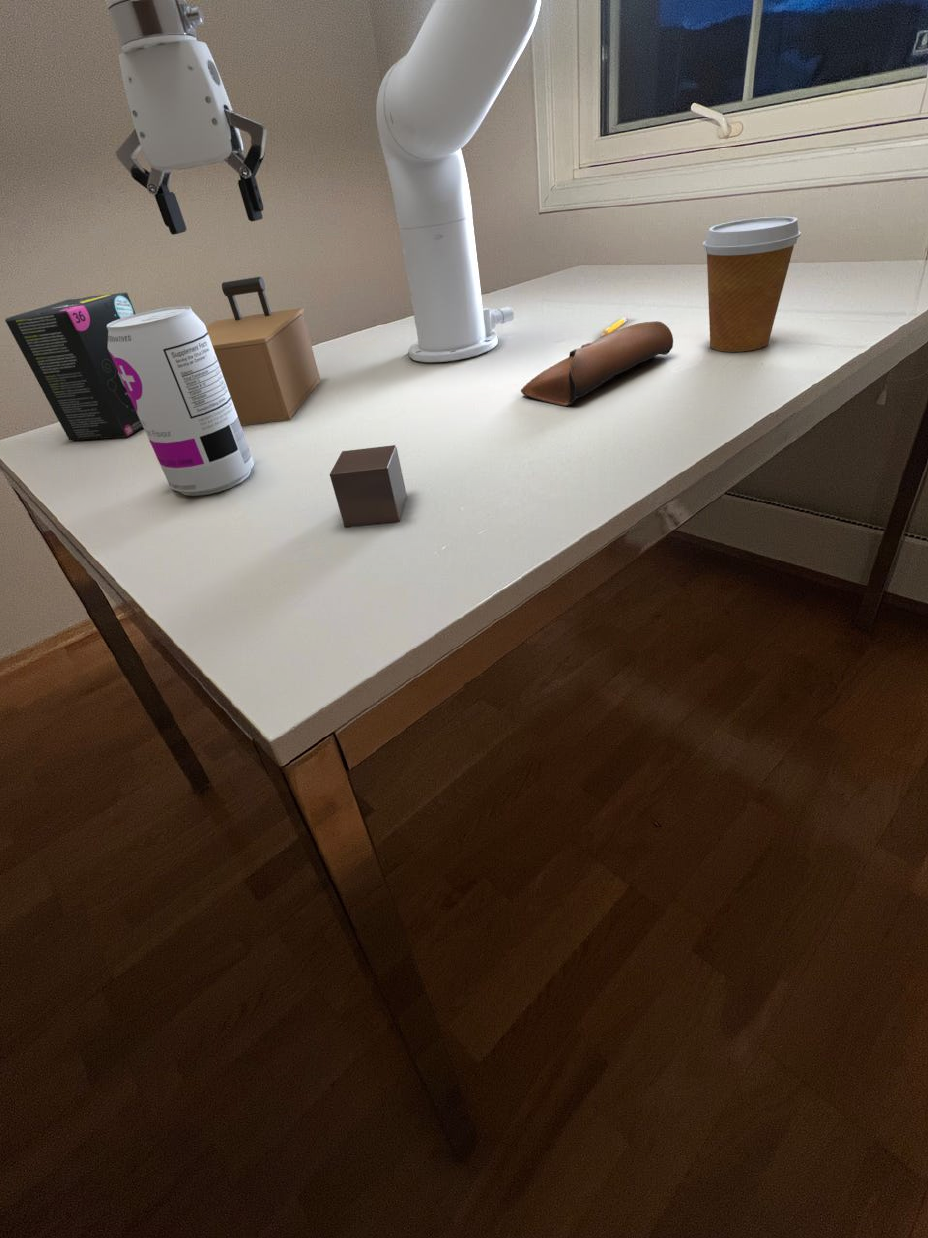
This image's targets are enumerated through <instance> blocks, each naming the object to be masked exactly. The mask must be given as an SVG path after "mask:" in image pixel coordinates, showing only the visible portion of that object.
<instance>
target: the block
mask: <svg viewBox="0 0 928 1238" xmlns="http://www.w3.org/2000/svg"><path fill="white" fill-rule="evenodd" d="M329 477H330V481H331V484H332V488H333V492H334V495H335V498H336V503H337V505H338V508H339V513H340V516H341V519H342V523H343V527H346V528H347V527H357V526H366V525H367V526H368V525H376V524H385V523H397V522H400V520H401V517H402V515H403V511H404V508H405V507H404V506H405V503H406V500H407V497H408V494H407V490H406V484H405V481H404V475H403V470H402V466H401V462H400V456H399V451H398V447H397V445H396V444H394V445H393V444H391V445H384V446H376V447H375V446H374V447H367V448H358V449H350V450H349V449H348V450H342V451H341V453H340V455H339V456H338V458H337V460H336V461H335V464H334V465H333V467H332V469H331V471H330V472H329Z"/></svg>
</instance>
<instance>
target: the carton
mask: <svg viewBox="0 0 928 1238" xmlns="http://www.w3.org/2000/svg"><path fill="white" fill-rule="evenodd" d="M214 352H215V354H216V357H217V360H218V363H219V366H220V368H221V371H222V374H223V377H224V380H225V382H226V385H227V388H228V391H229V394H230V396H231V399H232V402H233V405H234V408H235V410H236V413H237V416H238V419H239V422H240V424H241V427H242V426H250V425H258V424H265V423H266V424H267V423H274V422H275V423H276V422H282V421H290V420H291V419H292V418H293V416H294V415H295V414H296V413H297V411H298V410H299V409H300V408H301V407H302V405H303V404H304V402H306V400H307V399H308V398H309V396H310V395H311V394H312V393H313V392H314V390H315V389H316V388H317V387H318V385H319V384H320V383H321V381H322V380H321V376H320V372H319V368H318V364H317V362H316V356H315V353H314V350H313V347H312V343H311V339H310V335H309V332H308V328H307V324H306V320H305V316H304V314H303V313H302V314H300V315H299V316H298V317H297V318H296V319H294V320H293V321H292V322H291V323H289V324H288V325H287V326H286V327H285V328H283V329H282V330H281V331H280V332H278V333H277V334H276V335H275V336H274V337H272V338H271V339H270V340H269V341H267V342H266V343H261V344H253V345H246V346H239V347H232V348H225V349H218V350H214Z"/></svg>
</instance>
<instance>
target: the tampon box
mask: <svg viewBox="0 0 928 1238" xmlns="http://www.w3.org/2000/svg"><path fill="white" fill-rule="evenodd" d="M135 314H137V313H136V312H135V309H134V306H133V304H132V301H131V299H130V297H129V294H128V292H117V293H112V294H101V295H91V296H87V297H81V298H80V297H79V298H70V299H64V300H62V301H59V302H56V303H53V304H49V305H46V306H42V307H40V308H36V309H32V310H30V311H26V312H22V313H19V314H16V315H12V316H9V317H6V318H5V319H4V321H5V324H6V325H7V327H8V329H9V331H10V333H11V335H12V337H13V338H14V339H15V342H16V344H17V345H18V348H19V350H20V351H21V353H22V355H23V357H24V358H25V360H26V363H27V365H28V366H29V368H30V370H31V371H32V373H33V375H34V377H35V379H36V381H37V382H38V385H39V386H40V388H41V390H42V392H43V394H44V397H45V398H46V400H47V402H48V404H49V406H50V407H51V409H52V411H53V414H54V415H55V417H56V419H57V420H58V422H59V424H60V426H61V428H62V430H63V432H64V433H65V435H66V437H67V439H68V440H69V441H79V440H97V439H98V440H99V439H117V438H125V437H129V436H131V435H132V434H134V433H136V432H137V431H139V430H141V429H142V428H143V425H142V423H141V421H140V419H139V417H138V414H137V412H136V410H135V408H134V406H133V403H132V401H131V399H130V397H129V394H128V392H127V390H126V388H125V386H124V383H123V381H122V379H121V377H120V375H119V372H118V370H117V368H116V366H115V363H114V361H113V359H112V357H111V355H110V352H109V350H108V348H107V347H108V329H107V324H109V323H111V322H113V321H115V320H118V319H121V318H124V317H128V316H131V315H135Z"/></svg>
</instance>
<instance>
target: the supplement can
mask: <svg viewBox="0 0 928 1238" xmlns="http://www.w3.org/2000/svg"><path fill="white" fill-rule="evenodd" d="M206 326H207V325H206V324H205V322H204V321H202V319H201V318H200V317H199V316H198V315H197V314H196V313H195V312H194V311H193V310H192V307H191V306H190V305H179V306H177V305H176V306H169V307H162V308H158V309H157V308H156V309H153V310H147V311H143V312H139V313H136V314H135V315H131V316H128V317H124V318H121V319H118V320H115V321H113V322H111V323H109V324H107V329H108V347H107V348H108V350H109V352H110V355H111V357H112V359H113V361H114V363H115V366H116V368H117V370H118V372H119V375H120V377H121V379H122V381H123V383H124V386H125V388H126V390H127V392H128V394H129V397H130V399H131V401H132V403H133V406H134V408H135V410H136V412H137V414H138V417H139V419H140V421H141V423H142V425H143V427H142V428H143V429H144V432H145V434H146V436H147V439H148V441H149V443H150V445H151V447H152V448H151V449H152V450H153V452H154V455H155V456H156V459H157V461H158V463H159V465H160V467H161V470H162V472H163V474H164V476H165V479H166V481H167V483H168V486H169V488H171V489H172V490H174V491H176V492H179V493H181V494H183V495H184V496H189V497H190V496H191V497H198V496H208V495H212V494H217V493H220V492H222V491H226V490H228V489H231V488H233V487H235V486H237V485H239V484H241V483H242V482H243V481H245V480H247V478H249V476H250V474H251V471H252V469H253V467H254V465H255V461H254V458H253V455H252V453H251V450H250V447H249V445H248V441H247V439H246V436H245V432H244V430H243V428H242V426H241V424H240V422H239V419H238V416H237V413H236V410H235V408H234V405H233V402H232V399H231V396H230V394H229V391H228V388H227V385H226V382H225V380H224V377H223V374H222V371H221V368H220V366H219V363H218V360H217V357H216V354H215V352H214V349H213V346H212V343H211V340H210V338H209V335H208V332H207V329H206Z"/></svg>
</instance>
